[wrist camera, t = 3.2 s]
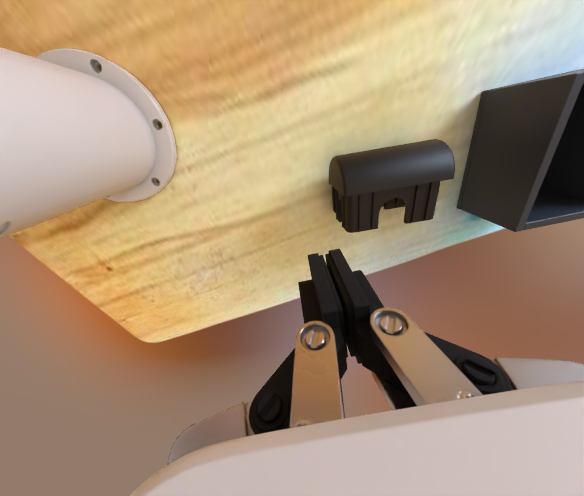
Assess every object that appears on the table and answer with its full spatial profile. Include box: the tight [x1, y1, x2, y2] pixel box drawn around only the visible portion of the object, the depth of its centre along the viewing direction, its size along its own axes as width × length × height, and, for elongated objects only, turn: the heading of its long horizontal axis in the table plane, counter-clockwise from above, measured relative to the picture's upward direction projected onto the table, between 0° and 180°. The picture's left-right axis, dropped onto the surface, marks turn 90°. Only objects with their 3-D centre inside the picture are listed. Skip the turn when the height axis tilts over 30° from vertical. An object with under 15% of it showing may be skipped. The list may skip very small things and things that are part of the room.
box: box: [457, 69, 584, 232], centre depth 21 cm, size 10×13×8 cm
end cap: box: [329, 139, 455, 233], centre depth 22 cm, size 10×7×7 cm
